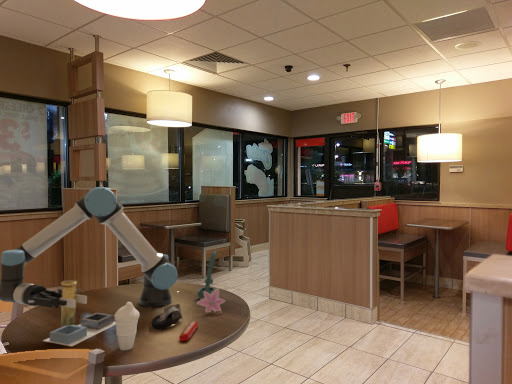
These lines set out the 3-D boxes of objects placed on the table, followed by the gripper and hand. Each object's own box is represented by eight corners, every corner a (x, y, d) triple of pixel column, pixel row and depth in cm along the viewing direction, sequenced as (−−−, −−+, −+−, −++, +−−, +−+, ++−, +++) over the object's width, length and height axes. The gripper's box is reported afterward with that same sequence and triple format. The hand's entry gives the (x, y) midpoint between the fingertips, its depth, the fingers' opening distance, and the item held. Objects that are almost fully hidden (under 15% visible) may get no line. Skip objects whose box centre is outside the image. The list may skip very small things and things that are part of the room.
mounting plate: (93, 320, 150) (93, 318, 150) (119, 325, 146) (119, 322, 146) (42, 343, 127) (42, 340, 127) (71, 349, 123) (71, 346, 123)
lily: (192, 315, 162) (196, 299, 158) (202, 298, 172) (205, 283, 168) (217, 325, 161) (221, 309, 156) (225, 307, 171) (230, 292, 167)
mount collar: (96, 319, 149) (96, 312, 149) (113, 322, 146) (113, 315, 146) (80, 326, 141) (80, 319, 141) (98, 329, 138) (98, 322, 138)
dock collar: (68, 332, 135) (68, 324, 135) (86, 335, 133) (87, 327, 133) (49, 340, 127) (49, 332, 127) (68, 344, 125) (68, 335, 125)
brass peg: (77, 320, 133) (78, 279, 133) (74, 325, 128) (75, 283, 128) (62, 321, 132) (63, 280, 132) (57, 326, 127) (59, 283, 127)
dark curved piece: (207, 308, 174) (226, 259, 175) (188, 299, 176) (207, 250, 177) (215, 302, 188) (232, 257, 189) (197, 294, 190) (215, 249, 191)
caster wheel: (152, 337, 141) (155, 324, 151) (181, 330, 143) (182, 317, 152) (149, 321, 140) (151, 309, 150) (178, 314, 141) (179, 303, 151)
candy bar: (190, 326, 146) (190, 319, 146) (199, 327, 146) (199, 319, 146) (177, 343, 130) (177, 334, 130) (187, 343, 130) (187, 335, 130)
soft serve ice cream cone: (107, 350, 123) (108, 303, 123) (124, 341, 131) (125, 296, 131) (127, 355, 120) (128, 306, 120) (144, 345, 128) (144, 299, 128)
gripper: (50, 298, 144) (98, 305, 137) (8, 311, 127) (60, 320, 120) (51, 279, 144) (98, 285, 137) (8, 290, 127) (60, 297, 120)
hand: (80, 301), depth 128 cm, fingers closed on brass peg, 4 cm apart
